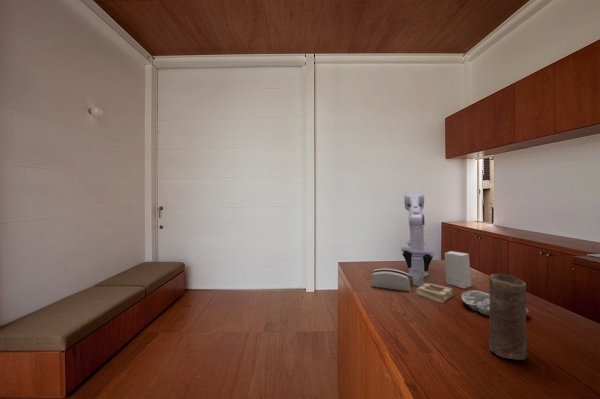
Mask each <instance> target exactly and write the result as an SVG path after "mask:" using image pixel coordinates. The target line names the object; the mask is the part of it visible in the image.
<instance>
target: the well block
mask: <svg viewBox="0 0 600 399" xmlns="http://www.w3.org/2000/svg"><path fill="white" fill-rule="evenodd" d="M453 290H454V289H453V288H451V287H446V286H443V285H439V284H435V283H432V282H431V283H430V282H426V284H424V285H422V286H417V287H416V296H417V297H421V298H424V299H427V300H430V301H431V300H432V301H434V302H437V303H441V304H444V303H446V301H448V300H450V299H451V298H452V297H453V296H454V293H453V292H454V291H453Z"/></svg>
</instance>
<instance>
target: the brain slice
mask: <svg viewBox="0 0 600 399" xmlns="http://www.w3.org/2000/svg"><path fill="white" fill-rule="evenodd" d="M460 298H461V300H462V302H463V304H465V305H467V306H468V307H469V308H470V309H471V310H473V311H475V312H479V313H480V314H482V315H484V316H488V317H490V293H487V292H484V291H481V290H469V291H463V292H461V294H460ZM529 313H530V309H529V308H527V307H526V315H528V314H529Z"/></svg>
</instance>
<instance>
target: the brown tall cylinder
mask: <svg viewBox="0 0 600 399" xmlns="http://www.w3.org/2000/svg"><path fill="white" fill-rule="evenodd" d="M526 291H527V283H526V282H525V281H524V280H523V279H521V278H518V277H516V276H514V275H511V274H504V273H492V274H490V275H489V294H490V316H489V318H488V319H489V322H488V323H489V326H488V327H489V330H488V348H489V349H488V350H489V351H490V352H492V353H494V354H495V355H497V356H498V357H502V358H503V359H504V358H505V359H511V360H513V361H523V360H525V359H526V358H527V314H526V308H527V294H526Z"/></svg>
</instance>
